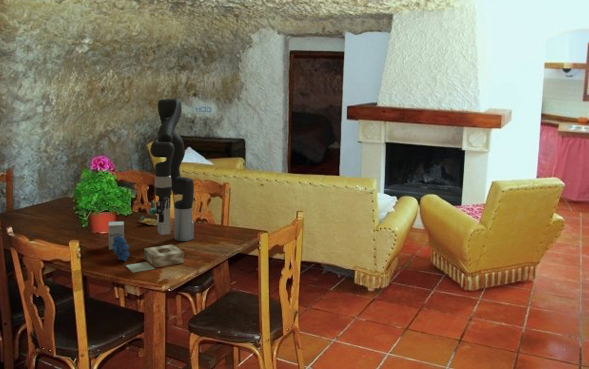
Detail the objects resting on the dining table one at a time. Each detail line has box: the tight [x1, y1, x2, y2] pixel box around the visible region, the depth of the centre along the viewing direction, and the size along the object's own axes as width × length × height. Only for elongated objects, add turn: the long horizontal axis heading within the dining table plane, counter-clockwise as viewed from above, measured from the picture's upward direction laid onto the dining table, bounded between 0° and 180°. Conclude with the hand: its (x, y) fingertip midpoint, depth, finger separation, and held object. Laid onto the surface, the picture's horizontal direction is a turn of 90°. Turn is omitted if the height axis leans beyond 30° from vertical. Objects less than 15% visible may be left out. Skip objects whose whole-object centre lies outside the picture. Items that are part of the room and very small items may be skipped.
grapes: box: [112, 235, 130, 262], centre depth 274 cm, size 12×7×12 cm, turn 50°
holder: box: [143, 244, 185, 268], centre depth 276 cm, size 14×14×5 cm
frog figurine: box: [138, 200, 158, 227], centre depth 337 cm, size 10×18×15 cm, turn 55°
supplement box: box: [107, 221, 125, 251], centre depth 293 cm, size 7×7×13 cm
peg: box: [156, 207, 172, 236], centre depth 273 cm, size 4×4×12 cm
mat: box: [125, 261, 156, 274], centre depth 266 cm, size 10×10×1 cm
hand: (163, 220), depth 273 cm, fingers closed on peg, 6 cm apart
